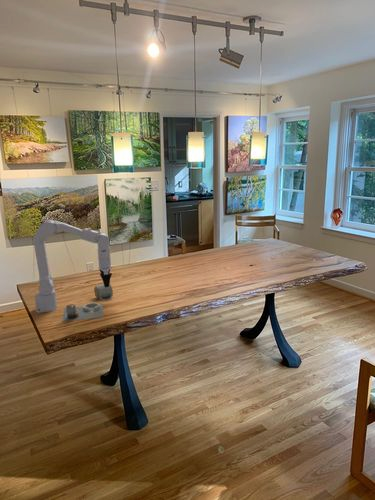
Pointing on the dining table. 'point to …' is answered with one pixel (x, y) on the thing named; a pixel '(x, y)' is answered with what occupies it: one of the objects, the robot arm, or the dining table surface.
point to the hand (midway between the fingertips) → (106, 284)
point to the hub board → (86, 312)
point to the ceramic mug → (103, 292)
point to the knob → (71, 311)
